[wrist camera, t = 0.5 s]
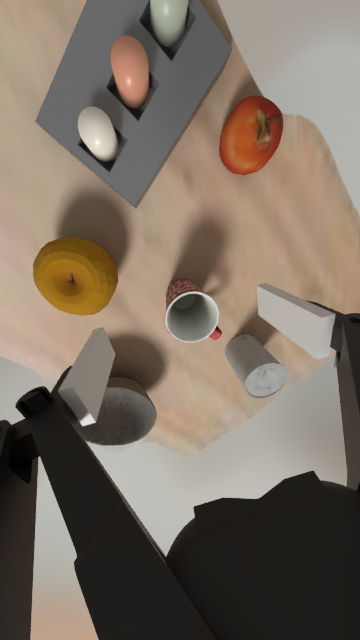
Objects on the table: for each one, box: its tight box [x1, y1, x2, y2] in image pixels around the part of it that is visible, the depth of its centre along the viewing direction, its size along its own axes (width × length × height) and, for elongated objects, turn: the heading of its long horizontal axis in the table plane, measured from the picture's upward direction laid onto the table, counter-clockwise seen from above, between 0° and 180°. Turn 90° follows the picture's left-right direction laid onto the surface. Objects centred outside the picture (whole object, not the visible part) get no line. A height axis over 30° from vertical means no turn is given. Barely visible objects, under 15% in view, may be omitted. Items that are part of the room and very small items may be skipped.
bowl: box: [75, 377, 156, 445], centre depth 47 cm, size 19×19×10 cm
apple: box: [33, 237, 118, 315], centre depth 33 cm, size 13×13×11 cm
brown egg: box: [111, 35, 149, 109], centre depth 25 cm, size 4×4×4 cm
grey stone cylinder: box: [225, 334, 288, 398], centre depth 46 cm, size 10×10×12 cm
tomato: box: [219, 96, 283, 175], centre depth 30 cm, size 9×9×8 cm
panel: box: [35, 0, 232, 208], centre depth 28 cm, size 16×24×4 cm, turn 142°
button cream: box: [78, 107, 119, 162], centre depth 27 cm, size 4×4×4 cm
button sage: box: [150, 0, 188, 47], centre depth 23 cm, size 4×4×4 cm
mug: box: [165, 280, 222, 343], centre depth 37 cm, size 13×9×14 cm
